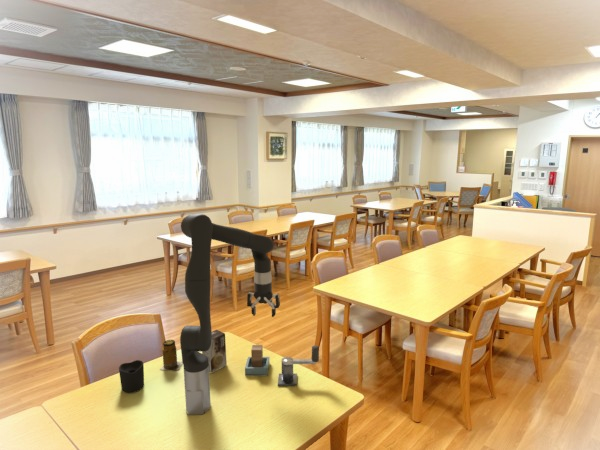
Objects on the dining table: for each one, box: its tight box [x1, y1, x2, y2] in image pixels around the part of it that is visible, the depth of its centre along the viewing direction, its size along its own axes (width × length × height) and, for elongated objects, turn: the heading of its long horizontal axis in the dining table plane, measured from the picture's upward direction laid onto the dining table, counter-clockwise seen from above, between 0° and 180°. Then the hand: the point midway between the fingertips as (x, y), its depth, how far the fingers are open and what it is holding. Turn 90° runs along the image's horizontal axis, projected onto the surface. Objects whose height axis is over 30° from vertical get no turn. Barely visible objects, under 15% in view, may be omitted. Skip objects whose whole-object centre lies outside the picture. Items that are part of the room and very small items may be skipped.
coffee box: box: [201, 329, 227, 374], centre depth 179 cm, size 9×6×16 cm
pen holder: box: [118, 359, 145, 394], centre depth 164 cm, size 9×9×10 cm
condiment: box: [160, 339, 183, 371], centre depth 180 cm, size 7×8×12 cm
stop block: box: [250, 344, 264, 367], centre depth 177 cm, size 4×4×10 cm
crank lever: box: [281, 345, 320, 366], centre depth 167 cm, size 16×5×7 cm, turn 90°
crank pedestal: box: [277, 364, 298, 387], centre depth 176 cm, size 24×8×8 cm, turn 0°
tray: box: [244, 356, 270, 377], centre depth 178 cm, size 10×10×4 cm
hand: (263, 315), depth 173 cm, fingers open, 8 cm apart
